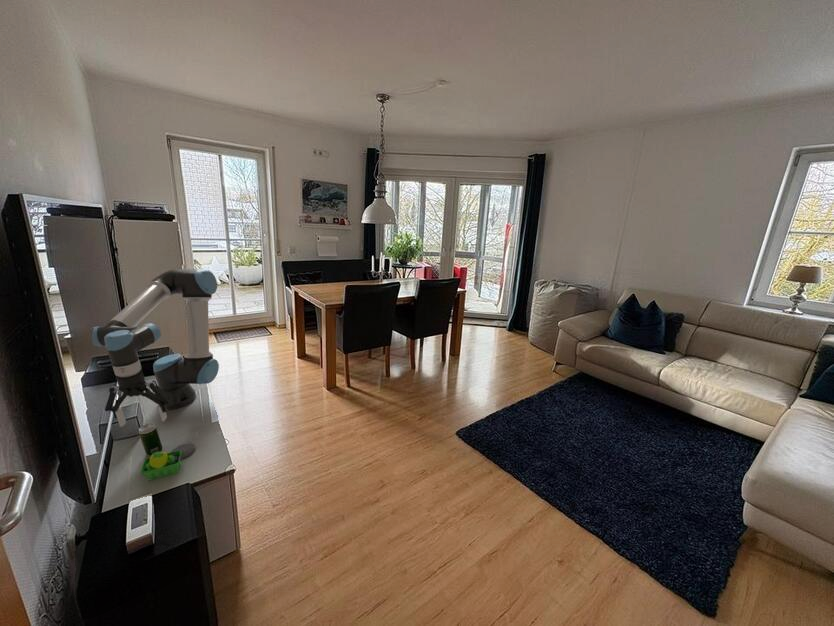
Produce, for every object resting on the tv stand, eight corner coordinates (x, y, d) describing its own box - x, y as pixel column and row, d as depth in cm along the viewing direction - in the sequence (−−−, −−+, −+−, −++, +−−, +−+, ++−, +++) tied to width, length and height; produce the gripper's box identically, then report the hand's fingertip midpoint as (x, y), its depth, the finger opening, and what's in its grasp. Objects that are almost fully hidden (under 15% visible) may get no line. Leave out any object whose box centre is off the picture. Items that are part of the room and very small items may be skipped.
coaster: (175, 447, 140) (175, 445, 140) (197, 443, 142) (197, 441, 142) (167, 461, 133) (167, 459, 133) (191, 457, 135) (190, 455, 134)
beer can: (165, 450, 138) (157, 425, 134) (150, 459, 134) (141, 433, 130) (159, 445, 141) (151, 421, 137) (143, 453, 137) (135, 428, 133)
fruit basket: (184, 460, 134) (177, 436, 130) (180, 476, 126) (173, 452, 122) (149, 468, 130) (140, 444, 126) (142, 486, 122) (133, 461, 118)
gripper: (80, 382, 118) (99, 433, 126) (164, 373, 124) (177, 422, 132) (94, 371, 125) (111, 420, 132) (172, 363, 131) (184, 411, 138)
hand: (144, 421), depth 132 cm, fingers open, 13 cm apart
